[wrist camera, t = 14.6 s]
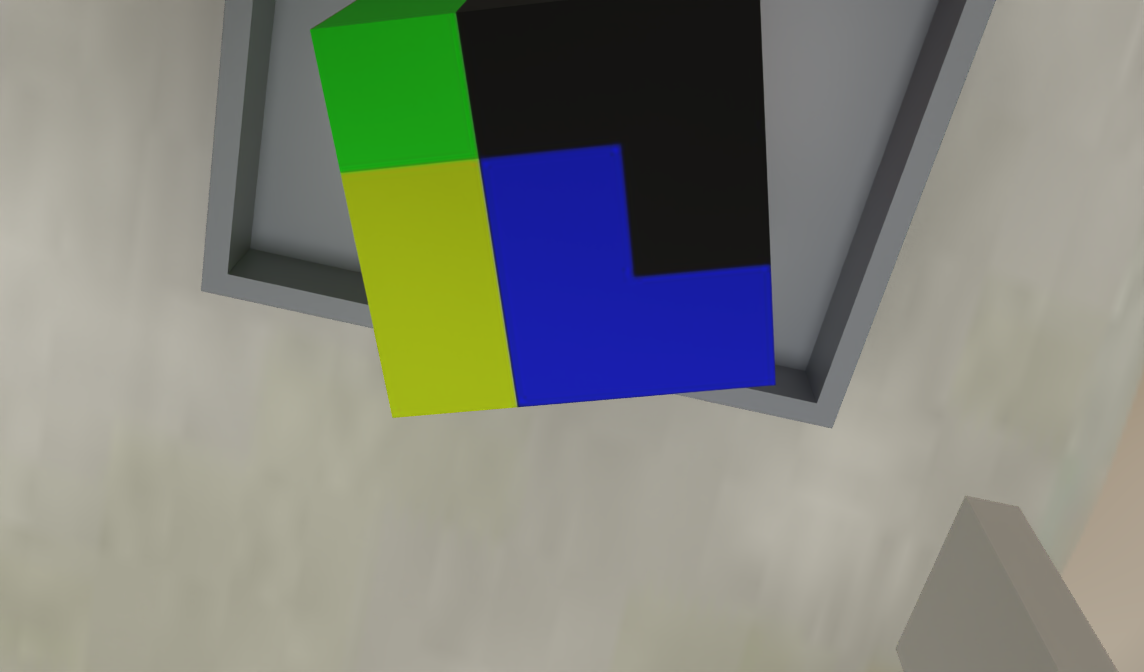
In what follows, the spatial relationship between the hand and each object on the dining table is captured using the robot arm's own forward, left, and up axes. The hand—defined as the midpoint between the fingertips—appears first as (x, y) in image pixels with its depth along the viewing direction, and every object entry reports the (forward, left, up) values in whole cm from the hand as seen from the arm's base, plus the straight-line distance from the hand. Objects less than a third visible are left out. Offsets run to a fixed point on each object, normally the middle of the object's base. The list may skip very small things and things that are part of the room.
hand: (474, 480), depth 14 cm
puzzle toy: (0, +1, -22) cm, 22 cm away
